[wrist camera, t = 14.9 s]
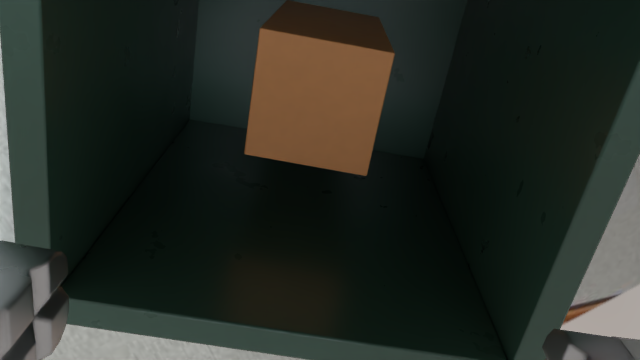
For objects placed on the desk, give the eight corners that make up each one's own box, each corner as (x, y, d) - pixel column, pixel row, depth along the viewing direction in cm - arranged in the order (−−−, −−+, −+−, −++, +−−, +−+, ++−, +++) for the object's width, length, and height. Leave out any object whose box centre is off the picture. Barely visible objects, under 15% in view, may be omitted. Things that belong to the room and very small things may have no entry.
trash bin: (432, 169, 33) (531, 393, 17) (176, 126, 32) (19, 318, 16) (502, -75, 28) (753, -94, 11) (193, -136, 27) (-22, -253, 10)
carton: (379, 17, 29) (395, 52, 19) (360, 106, 31) (366, 176, 22) (287, -1, 28) (259, 27, 19) (273, 90, 30) (243, 154, 21)
